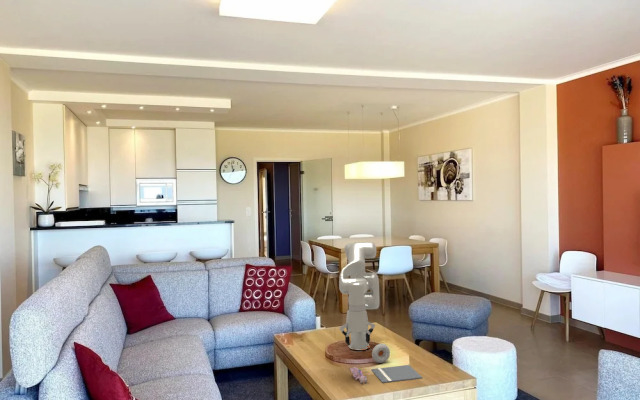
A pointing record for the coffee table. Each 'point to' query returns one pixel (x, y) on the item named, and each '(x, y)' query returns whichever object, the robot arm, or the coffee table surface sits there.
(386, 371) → the mat
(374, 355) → the donut
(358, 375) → the rabbit figure
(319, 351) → the coffee table surface
